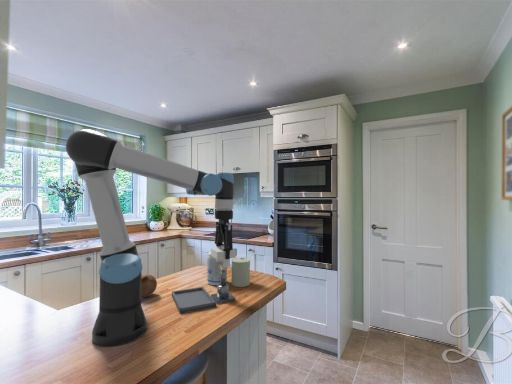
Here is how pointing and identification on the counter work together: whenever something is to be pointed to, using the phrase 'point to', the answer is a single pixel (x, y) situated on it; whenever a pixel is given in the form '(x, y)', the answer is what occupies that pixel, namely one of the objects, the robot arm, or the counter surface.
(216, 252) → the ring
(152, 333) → the counter surface
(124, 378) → the counter surface
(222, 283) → the metal post stand
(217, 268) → the supplement tub
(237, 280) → the can
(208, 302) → the tray
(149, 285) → the onion
